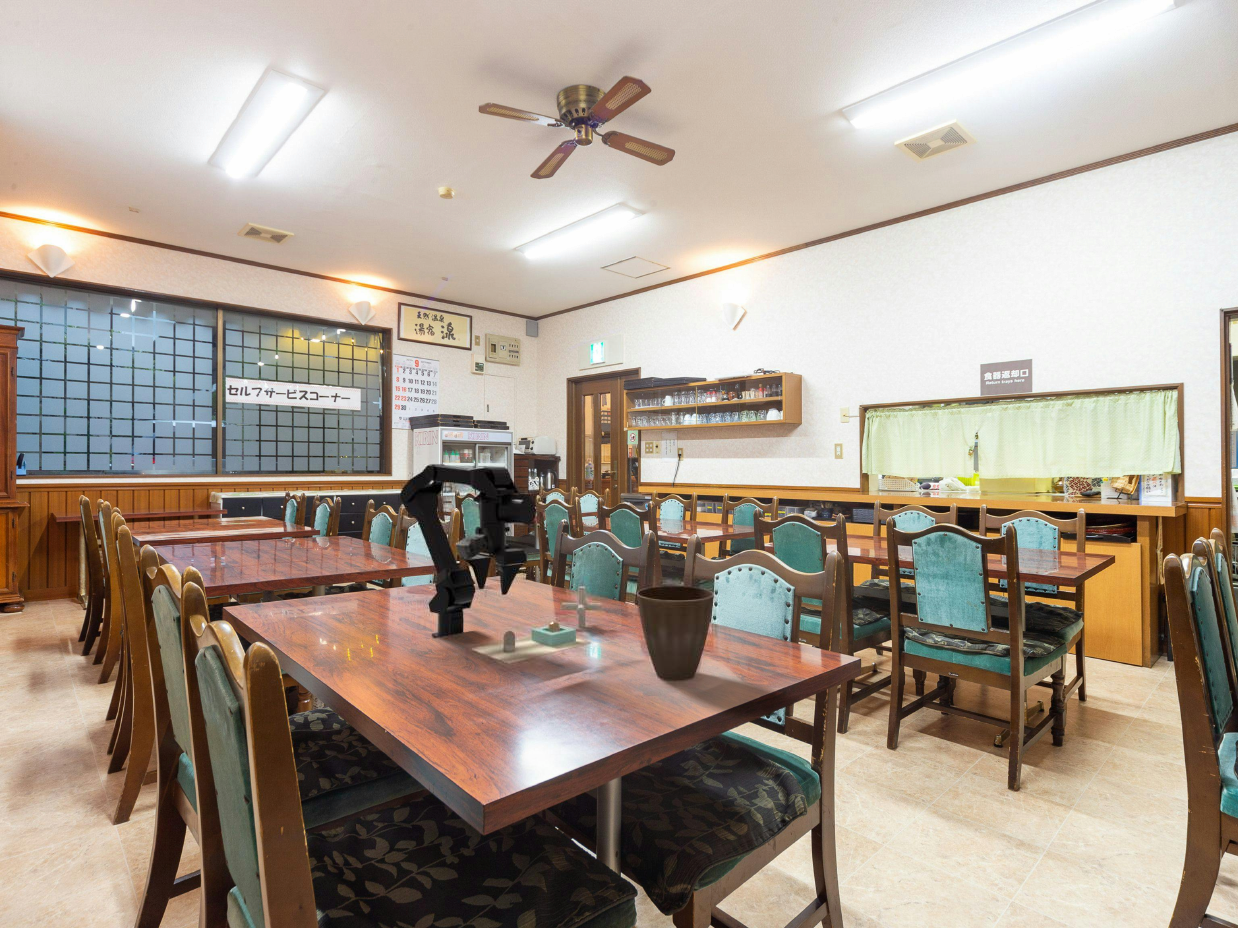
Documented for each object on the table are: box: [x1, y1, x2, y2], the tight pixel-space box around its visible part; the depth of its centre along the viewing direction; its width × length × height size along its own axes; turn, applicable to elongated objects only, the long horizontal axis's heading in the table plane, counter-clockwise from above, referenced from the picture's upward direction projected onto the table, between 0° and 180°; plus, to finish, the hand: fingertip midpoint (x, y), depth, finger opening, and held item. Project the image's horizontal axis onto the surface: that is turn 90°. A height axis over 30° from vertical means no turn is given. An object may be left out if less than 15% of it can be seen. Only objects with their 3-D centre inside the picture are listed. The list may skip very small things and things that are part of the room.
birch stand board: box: [471, 630, 592, 664], centre depth 139 cm, size 14×22×6 cm, turn 135°
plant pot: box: [636, 585, 715, 682], centre depth 125 cm, size 15×15×16 cm
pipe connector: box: [561, 586, 603, 628], centre depth 163 cm, size 10×10×10 cm
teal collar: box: [531, 624, 577, 647], centre depth 144 cm, size 7×7×2 cm
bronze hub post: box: [548, 621, 560, 633], centre depth 144 cm, size 2×2×4 cm
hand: (492, 591), depth 145 cm, fingers open, 9 cm apart
